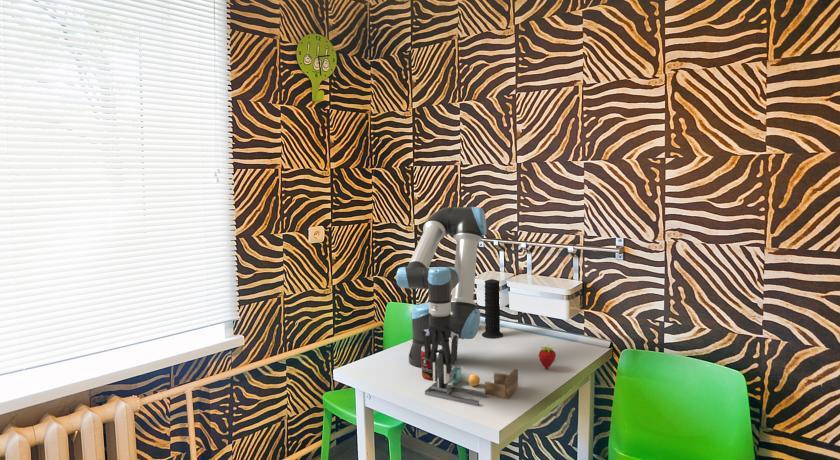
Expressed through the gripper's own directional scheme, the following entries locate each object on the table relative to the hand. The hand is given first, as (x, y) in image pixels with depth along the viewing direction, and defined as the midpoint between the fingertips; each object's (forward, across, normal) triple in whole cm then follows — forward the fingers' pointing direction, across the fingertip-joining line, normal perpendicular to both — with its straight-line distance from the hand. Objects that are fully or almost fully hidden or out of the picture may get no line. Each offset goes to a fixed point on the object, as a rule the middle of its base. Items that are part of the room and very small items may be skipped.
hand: (441, 380), depth 166 cm
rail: (+4, +6, 0) cm, 7 cm away
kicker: (+4, 0, +5) cm, 6 cm away
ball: (+4, +8, +10) cm, 13 cm away
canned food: (+4, -9, +11) cm, 15 cm away
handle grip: (+4, -6, +66) cm, 66 cm away
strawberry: (+4, +27, +36) cm, 45 cm away
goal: (+4, +18, +10) cm, 21 cm away
